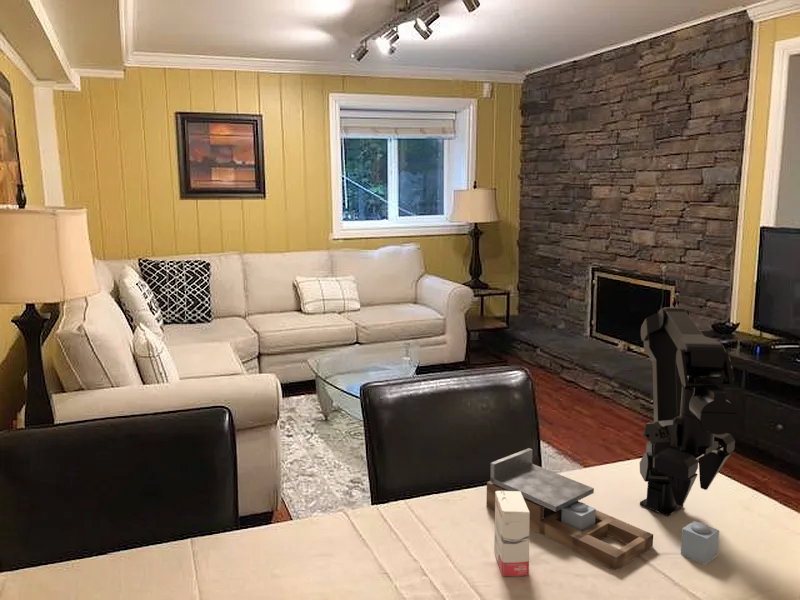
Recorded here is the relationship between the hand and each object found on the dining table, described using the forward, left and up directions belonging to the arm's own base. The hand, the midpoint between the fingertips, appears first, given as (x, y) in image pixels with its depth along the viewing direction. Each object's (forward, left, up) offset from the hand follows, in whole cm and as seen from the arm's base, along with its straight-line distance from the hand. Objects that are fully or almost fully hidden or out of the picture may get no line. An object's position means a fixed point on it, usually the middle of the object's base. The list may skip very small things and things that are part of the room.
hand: (691, 496), depth 117 cm
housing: (+9, -21, -11) cm, 25 cm away
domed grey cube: (-1, +1, -11) cm, 11 cm away
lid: (+9, -27, -5) cm, 28 cm away
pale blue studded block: (+9, -18, -11) cm, 23 cm away
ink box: (+27, -19, -11) cm, 34 cm away
